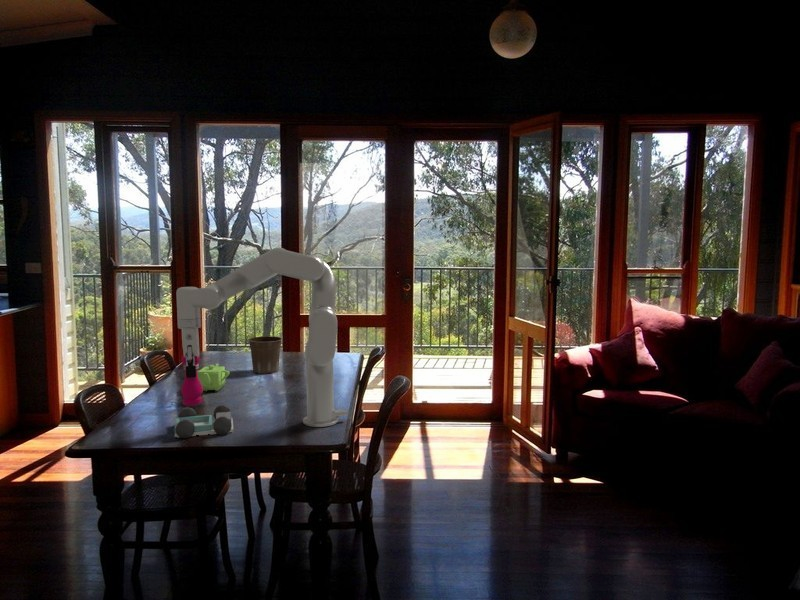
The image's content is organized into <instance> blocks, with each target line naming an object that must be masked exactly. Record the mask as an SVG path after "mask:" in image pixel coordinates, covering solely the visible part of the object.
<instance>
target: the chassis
mask: <svg viewBox="0 0 800 600" xmlns="http://www.w3.org/2000/svg"><path fill="white" fill-rule="evenodd" d="M213 417H214V419H213ZM233 420H234V419H233V417H232V411H231V408H230V407H229V406H228V405H226V404H219V405H217V406H216V407H215V408H214V409H213V414H205V415H197V412H196V411H195V409H194V408H192V407H183V408H182V409H181V410H180V411H179V413H178V416H177V417H176V419H175V423H174V438H175V437H177V438H180V439H188V438H190V437H197V436H196V435H199V436H207V435H208V434H210V435H220V436H221V435H222V436H224V435H226V434H229V433H230V432H232V433H234V421H233Z"/></svg>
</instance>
